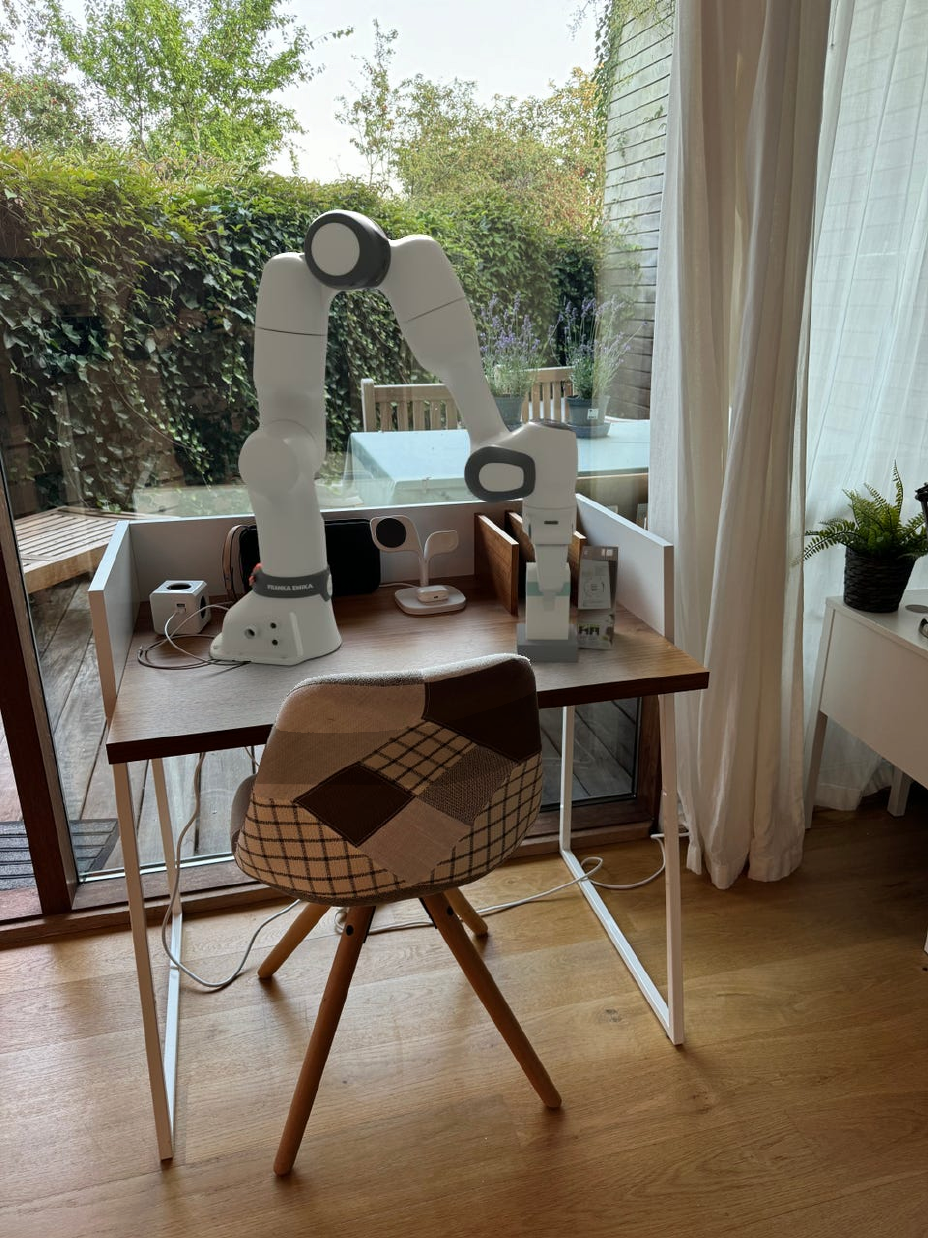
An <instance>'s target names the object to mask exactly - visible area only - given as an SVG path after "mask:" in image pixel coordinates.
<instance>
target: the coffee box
mask: <svg viewBox="0 0 928 1238" xmlns="http://www.w3.org/2000/svg"><path fill="white" fill-rule="evenodd" d="M618 566H619V546H610V545H609V546H607V545H595V546H594V545H583V546H582V549H581V552H580V556H579V572H578V573H579V574H578V592H577V593H578V594H577V597H578V598H577V619H576V621H577V623H576V637H577V641H578V649H579V648H580V649H581V648H582V649H592V650H606V651H612V650H613V642H614V634H615V625H616V623H615V622H616V612H617V611H616V610H617V609H616V608H617V593H618V592H617V591H618V569H619V567H618Z"/></svg>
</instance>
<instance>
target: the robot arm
mask: <svg viewBox="0 0 928 1238" xmlns="http://www.w3.org/2000/svg"><path fill="white" fill-rule="evenodd" d="M303 240H304V242H303V252H301V253H298V252H284V253H279V254H277V255H275V256H271V258H269V259H268V261H267V262H265V265H264V267H263V269H262V274H261V279H260V282H259V288H258V294H257V300H256V310H255V321H254V322H255V323H254V325H255V326H254V344H253V345H254V347H253V349H254V351H253V371H252V372H253V375H252V377H253V382H254V384H255V388H256V394H257V402H258V410H259V426H258V429H256V430H255V431H253V432H252V433H251V434H250V435H249V436H248V437H247V438H246V440H245V442H244V443H243V446H242V448H241V449H240V454H239V457H238V461H237V462H238V463H237V464H238V471H239V472H238V473H239V475H240V478H241V480H242V481H243V483H244V484H245V486H246V490H247V491H246V492H247V495H248V498H249V503H250V504H251V508H252V511H253V515H254V520H255V523H256V528H257V529H256V530H257V538H258V547H259V557H260V562H259V563H257V564H256V566H255V567H254V568H253V570H252V573H251V574H250V577H249V579H248V580H249V586H250V587H251V589H252V590H250V591H249V592H248V593H247V594H246V595H244V596H243V597H242V598H240V600H238V601H237V602H236V603H235V604H234V605H232V606H231V608H230V609H229V610H228V611H227V612H226V614H225V616H224V619H223V623H222V630H221V631H222V632H220V633H219V634H218V635H217V636H215V638H214V639H213V640H212V642H211V644H210V647H209V648H210V651H209V652H210V653H209V654H210V657H211V656H212V657H213V658H212V657H211V658H212V659H214V660H221V661H222V660H223V661H232V660H235V661H234V662H243V661H251V662H250V663H255V664H256V663H257V664H265V665H266V664H268V665H269V664H270V665H278V666H279V665H280V666H295V665H297V664H300V663H302V662H304V661H306V660H309V659H313V658H317V657H318V658H319V657H321V656H325V655H327V654H329V653H332V652H333V651H335V650H337V649H338V648H340V646H341V645H342V641H343V640H342V637H341V635H340V632H339V630H338V626H337V623H336V618H335V614H334V611H333V610H334V609H333V604H332V599H331V598H332V595H333V583H332V574H331V569H330V565H329V564H328V561H327V560H328V559H327V547H326V546H327V544H326V532H325V531H326V530H325V519H324V518H323V516H322V513H321V511H320V505H319V500H318V497H317V492H316V486H315V475H316V473H317V472H318V471H319V470H320V468H321V467H322V466H323V463H324V461H325V458H326V454H327V422H326V421H327V419H326V399H325V377H326V361H327V359H326V357H327V349H328V348H327V347H328V345H327V344H328V333H329V331H328V330H329V329H328V328H329V314H330V309H331V304H332V302H333V300H334V299H335V297H336V295H340V294H346V293H350V292H352V293H355V292H360V291H363V290H367V289H376V290H378V291H380V292H381V293H382V294H383V295H384V296H385V298H386V299H387V301H388V304H390V306H391V309H392V310H393V314H394V317H395V318H396V321H397V324H398V326H399V329H400V331H401V334H402V336H403V338H404V340H405V342H406V344H407V347H408V348H409V349H410V352H411V353H412V355H413V356H414V358H415V359H416V361H417V363H418V364H419V366H420V367H422V369H424V370H426V372H429V373H430V374H431V375H433V376H434V377H436V378H437V379H438V380H439V381H440V382H442V384H443V385H444V386H445V387H446V388H447V390H448V391H449V393H450V395H451V397H452V399H453V402H454V404H455V406H456V408H457V411H458V413H459V416H460V417H461V420H462V422H463V425H464V428H465V430H466V432H467V434H468V437H469V441H470V445H469V446H470V452H469V453H470V454H469V455H468V458H467V459H466V462H465V465H464V468H463V478H464V482H465V485H466V487H467V489H468V491H469V492H470V493H471V494H472V495H473V496H474V497H475V498H476V499H478V500H480V501H483V502H484V503H485V502H486V503H490V504H491V503H494V504H495V503H503V502H510V501H515V500H519V499H522V500H521V502H522V504H521V506H522V507H521V511H522V512H521V530H522V532H523V533H524V534H526V536H527V537H528V538H529V541H530V543H531V544H532V547H533V549H534V558H535V563H536V565H537V575H538V584H539V589H540V591H541V592H543V610H544V611H545V612H552V611H554V606H555V597H556V592H561V591H562V588H563V584H564V578H565V571H566V563H568V562H567V561H568V552H569V545H572V544H573V536H574V535H575V532H576V531H577V513H578V512H577V509H578V508H577V506H578V499H577V494H576V484H577V480H578V477H579V448H578V439H577V434H576V432H575V431H574V430H573V428H572V427H571V426H570V425H568V424H567V423H565V422H562V421H559V420H556V419H551V418H545V417H544V418H541V417H535V418H531V419H529V420H528V421H527V422H526V423H525V424H523V425H522V426H520V427H518V428H516V429H515V430H512V429H511V428H510V427H509V426H508V425H507V423H506V421H504V419H503V416H502V414H501V411H500V409H499V406H498V404H497V402H496V399H495V397H494V394H493V392H492V389H491V388H490V387H491V386H490V384H489V382H488V380H487V377H486V375H485V371H484V367H483V363H482V361H483V360H482V356H481V349H480V344H479V338H478V332H477V328H476V323H475V320H474V316H473V313H472V311H471V310H472V309H471V307H470V304H469V301H468V298H467V297H466V294H465V291H464V288H463V286H462V284H461V282H460V280H459V277H458V275H457V273H456V271H455V269H454V267H453V265H452V264H451V262H450V259H449V258H448V257H447V255H446V253H445V251H444V250H443V248H442V246H441V245H440V243H439V242H438V241H437V240H436V239H435V238H433V237H432V236H428V235H426V234H425V235H424V234H411V235H407V236H404V237H402V238H399V239H396V240H393V239H392V240H391V239H390V237H389V235H388V234H387V232H386V231H385V229H384V228H383V227H382V226H381V224H379V223H378V222H377V221H375V220H374V219H372V218H371V217H369V216H367V215H366V214H364V213H362V212H359V211H355V210H347V209H346V210H344V209H334V210H329V211H327V212H325V213H323V214H321V215H319V216H318V217H316V219H314V221H312V223H310V225H309V227H308V229H307V231H306V233H305V235H304V239H303Z"/></svg>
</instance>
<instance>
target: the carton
mask: <svg viewBox="0 0 928 1238" xmlns="http://www.w3.org/2000/svg"><path fill="white" fill-rule="evenodd" d="M570 569H571V568H570V565H569V562H567V563H566V571H565V578H564V584H563V588H562V591H561V592H556V597H555V606H554V611H552V612H545V611H544V610H543V592H541V591H540V589H539V584H538V575H537V565H536V562H526V572H525V624H526V639H535V640H568V629H569V624H570V596H571V570H570Z"/></svg>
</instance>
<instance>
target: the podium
mask: <svg viewBox="0 0 928 1238" xmlns="http://www.w3.org/2000/svg"><path fill="white" fill-rule="evenodd" d="M517 654H518V655H521V656H525V657H527V658H528V659H530V661H531V663H532V662H533V663H535V662H536V663H539V662H540V663H545V662H546V663H554V662H555V663H578V662H579V661H578V660H579V648H578V641H577V631H576V629H575V625H574V623H569V629H568V640H535V639H526V623H516V655H517Z"/></svg>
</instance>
